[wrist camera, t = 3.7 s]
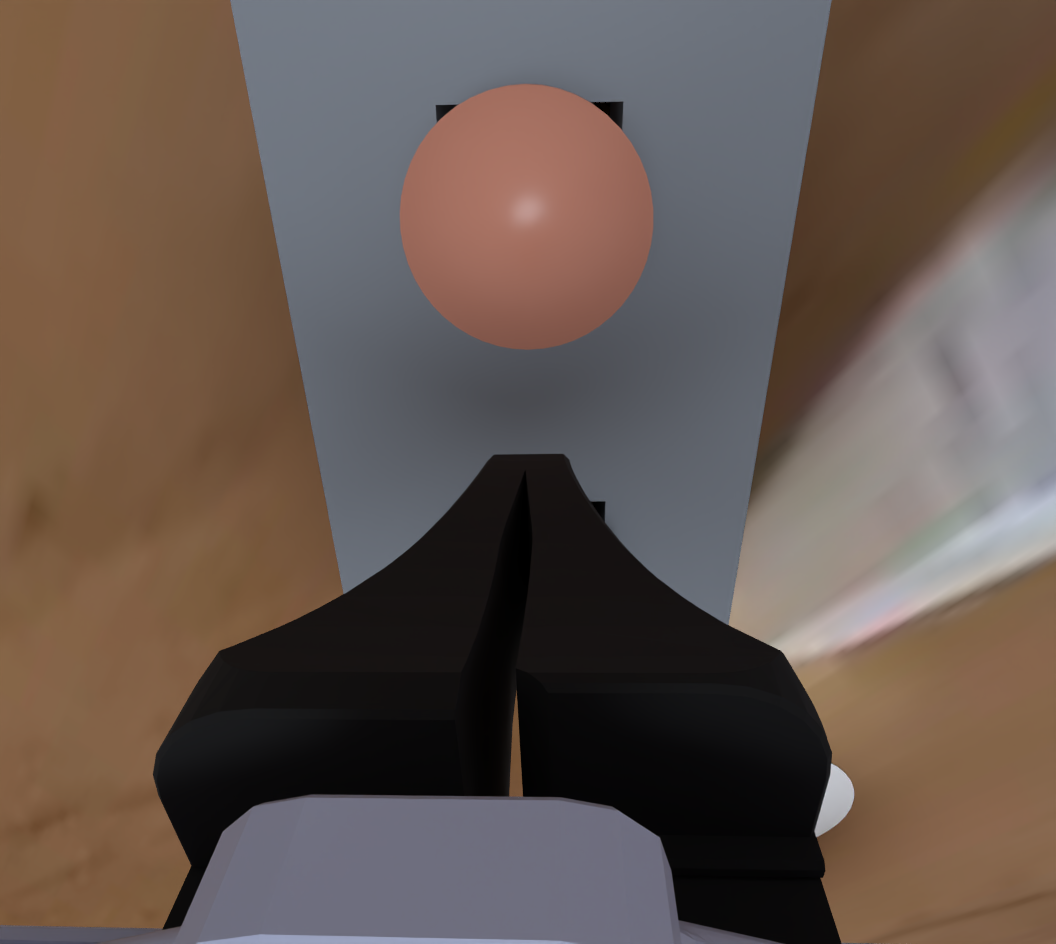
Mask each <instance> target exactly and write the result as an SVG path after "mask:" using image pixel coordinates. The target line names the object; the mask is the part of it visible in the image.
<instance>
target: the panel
mask: <svg viewBox="0 0 1056 944" xmlns="http://www.w3.org/2000/svg"><path fill="white" fill-rule="evenodd" d="M230 1H231V6H232V11H233V17H234V22H235V27H236V32H237V38H238V43H239V48H240V53H241V59H242V64H243V69H244V74H245V80H246V85H247V90H248V95H249V101H250V106H251V111H252V116H253V121H254V127H255V132H256V137H257V142H258V148H259V153H260V158H261V163H262V169H263V174H264V179H265V184H266V190H267V195H268V200H269V205H270V211H271V216H272V221H273V226H274V231H275V237H276V242H277V247H278V252H279V258H280V263H281V268H282V273H283V279H284V284H285V289H286V294H287V300H288V305H289V310H290V315H291V320H292V326H293V331H294V336H295V341H296V347H297V352H298V357H299V362H300V368H301V373H302V378H303V383H304V389H305V394H306V399H307V404H308V410H309V415H310V420H311V425H312V430H313V436H314V441H315V446H316V451H317V457H318V462H319V467H320V472H321V478H322V483H323V488H324V493H325V499H326V504H327V509H328V514H329V520H330V525H331V530H332V535H333V540H334V546H335V551H336V556H337V561H338V567H339V572H340V577H341V582H342V588H343V593H344V594H345V593H347V592H348V591H350V590H351V589H353V588H354V587H356V586H357V585H359V584H360V583H362V582H363V581H365V580H367V579H368V578H370V577H371V576H373V575H374V574H376V573H377V572H379V571H380V570H382V569H383V568H385V567H386V566H388V565H389V564H390V563H392V562H393V561H394V560H395V559H397V558H398V557H399V556H400V555H402V554H403V553H404V552H406V551H407V550H408V549H409V548H410V547H412V546H413V545H414V544H415V543H416V542H417V541H418V540H419V539H420V538H421V537H422V536H423V535H424V534H425V533H426V532H427V531H428V530H429V529H430V528H431V527H432V526H433V525H434V524H435V523H436V522H437V521H438V520H439V519H440V518H441V517H442V516H443V515H444V514H445V513H446V512H447V511H448V510H449V509H450V507H451V506H452V505H453V504H454V503H455V502H456V500H457V499H458V498H459V497H460V496H461V495H462V494H463V492H464V491H465V490H466V489H467V487H468V486H469V485H470V484H471V482H472V481H473V480H474V479H475V477H476V476H477V475H478V473H479V472H480V471H481V469H482V468H483V466H484V465H485V464H486V462H487V461H488V460H489V459H490V458H491V457H492V456H493V455H495V454H564V455H565V456H566V457H567V458H568V459H569V460H570V464H571V467H572V469H573V472H574V474H575V476H576V478H577V480H578V482H579V483H580V485H581V487H582V489H583V491H584V492H585V494H586V496H587V497H588V499H589V500H590V501H596V504H595V509H596V511H597V512H598V513H599V515H600V516H601V518H602V519H603V520H604V522H605V523H606V524H607V526H608V527H609V528H610V529H611V531H612V532H613V533H614V534H615V535H616V537H617V538H618V539H619V540H620V541H621V542H622V544H623V545H624V546H625V547H626V548H627V549H628V550H629V551H630V552H631V553H632V554H633V556H634V557H636V558H637V559H638V560H639V561H640V562H641V563H642V564H643V565H644V566H645V567H646V568H647V569H648V570H649V571H650V572H651V573H652V574H654V575H655V576H656V577H657V578H658V579H660V580H661V581H662V582H664V583H665V584H666V585H668V586H669V587H670V588H672V589H673V590H674V591H675V592H677V593H678V594H679V595H681V596H682V597H684V598H685V599H687V600H688V601H689V602H691V603H692V604H694V605H695V606H697V607H699V608H700V609H702V610H704V611H705V612H707V613H708V614H710V615H712V616H713V617H715V618H717V619H718V620H720V621H722V622H723V623H725V624H727V625H728V624H729V618H730V611H731V605H732V599H733V593H734V587H735V581H736V575H737V569H738V563H739V557H740V551H741V545H742V539H743V533H744V527H745V521H746V515H747V509H748V503H749V496H750V490H751V484H752V478H753V472H754V466H755V460H756V454H757V448H758V442H759V436H760V430H761V424H762V418H763V412H764V406H765V400H766V394H767V387H768V381H769V375H770V369H771V363H772V357H773V351H774V345H775V339H776V333H777V327H778V321H779V315H780V309H781V303H782V297H783V291H784V285H785V279H786V272H787V266H788V260H789V254H790V248H791V242H792V236H793V230H794V224H795V218H796V212H797V206H798V200H799V194H800V188H801V182H802V176H803V170H804V164H805V157H806V151H807V145H808V139H809V133H810V127H811V121H812V115H813V109H814V103H815V97H816V91H817V85H818V79H819V73H820V67H821V61H822V55H823V48H824V42H825V36H826V30H827V24H828V18H829V12H830V6H831V0H230ZM515 84H542V85H547V86H552V87H557V88H560V89H563V90H566V91H569V92H571V93H574V94H576V95H578V96H580V97H582V98H584V99H585V100H587V101H589V102H610V118H611V119H612V120H613V121H614V122H615V123H616V124H617V125H618V126H619V127H620V128H621V130H622V131H623V132H624V134H625V135H626V136H627V138H628V139H629V140H630V142H631V143H632V145H633V147H634V148H635V150H636V152H637V154H638V155H639V157H640V159H641V162H642V164H643V167H644V169H645V172H646V174H647V178H648V182H649V186H650V190H651V195H652V203H653V233H652V241H651V247H650V250H649V254H648V258H647V262H646V264H645V267H644V269H643V272H642V274H641V277H640V278H639V280H638V282H637V284H636V286H635V287H634V289H633V291H632V292H631V294H630V295H629V297H628V298H627V299H626V301H625V302H624V303H623V305H622V306H621V307H620V308H619V309H618V310H617V311H616V312H615V313H614V314H613V315H612V316H611V317H610V318H609V319H608V320H606V321H605V322H604V323H603V324H602V325H600V326H599V327H597V328H596V329H594V330H593V331H591V332H590V333H588V334H586V335H584V336H582V337H580V338H578V339H576V340H574V341H571V342H568V343H565V344H562V345H559V346H554V347H549V348H544V349H531V350H524V349H511V348H506V347H500V346H496V345H493V344H490V343H487V342H483V341H481V340H479V339H477V338H475V337H473V336H470V335H468V334H467V333H465V332H464V331H462V330H460V329H459V328H457V327H456V326H454V325H453V324H452V323H451V322H449V321H448V320H447V319H446V318H444V317H443V316H442V315H441V314H440V313H439V312H438V311H437V310H436V309H435V307H434V306H433V305H432V304H431V303H430V301H429V300H428V299H427V298H426V296H425V295H424V294H423V292H422V290H421V289H420V287H419V285H418V284H417V282H416V280H415V278H414V276H413V274H412V272H411V269H410V267H409V265H408V262H407V258H406V255H405V252H404V248H403V243H402V237H401V231H400V203H401V194H402V189H403V185H404V180H405V177H406V174H407V171H408V168H409V165H410V163H411V160H412V158H413V157H414V155H415V153H416V151H417V149H418V147H419V145H420V144H421V142H422V141H423V139H424V138H425V137H426V135H427V134H428V132H429V131H430V130H431V129H432V128H433V127H434V126H435V124H436V123H437V122H438V121H439V120H440V119H441V118H442V117H443V116H445V115H446V114H447V113H448V112H449V111H451V110H452V109H453V108H454V107H456V106H457V105H459V104H461V103H462V102H464V101H466V100H467V99H469V98H471V97H473V96H476V95H478V94H480V93H483V92H485V91H488V90H491V89H495V88H499V87H503V86H507V85H515Z"/></svg>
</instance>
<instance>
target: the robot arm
mask: <svg viewBox="0 0 1056 944" xmlns="http://www.w3.org/2000/svg"><path fill="white" fill-rule="evenodd" d="M516 690H517V701H518V718H519V734H520V751H521V768H522V785H523V797H509V786H510V764H511V743H512V723H513V714H514V704H515V697H516ZM831 759H832V751H831V749H830V746H829V743H828V740H827V736H826V733H825V731H824V728H823V725H822V722H821V720H820V718H819V716H818V714H817V711H816V709H815V707H814V705H813V703H812V701H811V699H810V698H809V696H808V694H807V692H806V691H805V689H804V687H803V685H802V684H801V682H800V680H799V679H798V677H797V675H796V674H795V672H794V670H793V669H792V667H791V665H790V664H789V662H788V660H787V659H786V657H785V655H784V654H783V653H782V652H781V651H780V650H778V649H776V648H774V647H772V646H770V645H768V644H766V643H763V642H761V641H759V640H757V639H755V638H753V637H751V636H749V635H747V634H745V633H743V632H741V631H739V630H737V629H735V628H733V627H731V626H729V625H727V624H725V623H723V622H722V621H720V620H718V619H717V618H715V617H713V616H712V615H710V614H708V613H707V612H705V611H704V610H702V609H700V608H699V607H697V606H695V605H694V604H692V603H691V602H689V601H688V600H687V599H685V598H684V597H682V596H681V595H679V594H678V593H677V592H675V591H674V590H673V589H672V588H670V587H669V586H668V585H666V584H665V583H664V582H662V581H661V580H660V579H658V578H657V577H656V576H655V575H654V574H652V573H651V572H650V571H649V570H648V569H647V568H646V567H645V566H644V565H643V564H642V563H641V562H640V561H639V560H638V559H637V558H636V557H634V556H633V554H632V553H631V552H630V551H629V550H628V549H627V548H626V547H625V546H624V545H623V544H622V542H621V541H620V540H619V539H618V538H617V537H616V535H615V534H614V533H613V532H612V531H611V529H610V528H609V527H608V526H607V524H606V523H605V522H604V520H603V519H602V518H601V516H600V515H599V513H598V512H597V511H596V509H595V508H594V506H593V505H592V503H591V502H590V500H589V499H588V497H587V496H586V494H585V492H584V491H583V489H582V487H581V485H580V483H579V482H578V480H577V478H576V476H575V474H574V472H573V469H572V467H571V464H570V460H569V459H568V458H567V457H566V456H565V455H564V454H495V455H493V456H492V457H491V458H490V459H489V460H488V461H487V462H486V464H485V465H484V466H483V468H482V469H481V471H480V472H479V473H478V475H477V476H476V477H475V479H474V480H473V481H472V482H471V484H470V485H469V486H468V487H467V489H466V490H465V491H464V492H463V494H462V495H461V496H460V497H459V498H458V499H457V500H456V502H455V503H454V504H453V505H452V506H451V507H450V509H449V510H448V511H447V512H446V513H445V514H444V515H443V516H442V517H441V518H440V519H439V520H438V521H437V522H436V523H435V524H434V525H433V526H432V527H431V528H430V529H429V530H428V531H427V532H426V533H425V534H424V535H423V536H422V537H421V538H420V539H419V540H418V541H417V542H416V543H415V544H414V545H413V546H412V547H410V548H409V549H408V550H407V551H406V552H404V553H403V554H402V555H400V556H399V557H398V558H397V559H395V560H394V561H393V562H392V563H390V564H389V565H388V566H386V567H385V568H383V569H382V570H380V571H379V572H377V573H376V574H374V575H373V576H371V577H370V578H368V579H367V580H365V581H363V582H362V583H360V584H359V585H357V586H356V587H354V588H353V589H351V590H350V591H348V592H347V593H345V594H343V595H341V596H340V597H338V598H336V599H334V600H332V601H331V602H329V603H327V604H325V605H323V606H322V607H320V608H318V609H316V610H314V611H312V612H310V613H308V614H306V615H304V616H302V617H300V618H298V619H296V620H294V621H291V622H289V623H287V624H285V625H283V626H281V627H278V628H276V629H273V630H271V631H268V632H266V633H264V634H261V635H259V636H256V637H254V638H251V639H249V640H246V641H244V642H242V643H239V644H237V645H234V646H232V647H229V648H226V649H223V650H221V651H219V652H218V654H217V655H216V657H215V658H214V660H213V661H212V663H211V664H210V665H209V667H208V668H207V670H206V671H205V672H204V674H203V675H202V677H201V678H200V680H199V681H198V683H197V685H196V686H195V688H194V690H193V691H192V693H191V695H190V696H189V698H188V700H187V702H186V703H185V705H184V707H183V708H182V710H181V712H180V714H179V715H178V717H177V719H176V721H175V722H174V724H173V726H172V728H171V729H170V731H169V733H168V734H167V736H166V738H165V740H164V741H163V743H162V745H161V747H160V748H159V750H158V752H157V754H156V759H155V765H154V771H153V776H154V780H155V784H156V788H157V791H158V795H159V797H160V800H161V802H162V804H163V806H164V808H165V810H166V812H167V814H168V817H169V819H170V821H171V823H172V825H173V827H174V829H175V832H176V834H177V836H178V838H179V840H180V842H181V844H182V846H183V849H184V851H185V853H186V855H187V857H188V859H189V861H190V863H191V865H192V866H191V868H190V870H189V873H188V875H187V877H186V879H185V881H184V884H183V886H182V888H181V890H180V892H179V894H178V897H177V899H176V901H175V903H174V905H173V908H172V910H171V912H170V914H169V916H168V919H167V921H166V923H165V925H164V927H163V929H154V928H106V927H58V926H10V925H0V944H871V943H841V941H840V938H839V934H838V931H837V928H836V925H835V922H834V919H833V916H832V913H831V910H830V907H829V904H828V900H827V897H826V894H825V891H824V888H823V885H822V882H821V879H820V878H823V876H824V873H825V863H824V859H823V856H822V853H821V850H820V847H819V844H818V841H817V838H816V835H815V832H814V831H815V828H816V824H817V821H818V817H819V813H820V810H821V806H822V803H823V799H824V796H825V792H826V788H827V785H828V781H829V778H830V773H831Z"/></svg>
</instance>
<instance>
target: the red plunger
mask: <svg viewBox="0 0 1056 944" xmlns="http://www.w3.org/2000/svg"><path fill="white" fill-rule="evenodd" d="M400 231H401V237H402V243H403V248H404V252H405V255H406V258H407V262H408V265H409V267H410V269H411V272H412V274H413V276H414V278H415V280H416V282H417V284H418V285H419V287H420V289H421V290H422V292H423V294H424V295H425V296H426V298H427V299H428V300H429V301H430V303H431V304H432V305H433V306H434V307H435V309H436V310H437V311H438V312H439V313H440V314H441V315H442V316H443V317H444V318H446V319H447V320H448V321H449V322H451V323H452V324H453V325H454V326H456V327H457V328H459V329H460V330H462V331H464V332H465V333H467V334H468V335H470V336H473V337H475V338H477V339H479V340H481V341H483V342H487V343H490V344H493V345H496V346H500V347H506V348H511V349H524V350H531V349H544V348H549V347H554V346H559V345H562V344H565V343H568V342H571V341H574V340H576V339H578V338H580V337H582V336H584V335H586V334H588V333H590V332H591V331H593V330H594V329H596V328H597V327H599V326H600V325H602V324H603V323H604V322H605V321H606V320H608V319H609V318H610V317H611V316H612V315H613V314H614V313H615V312H616V311H617V310H618V309H619V308H620V307H621V306H622V305H623V303H624V302H625V301H626V299H627V298H628V297H629V295H630V294H631V292H632V291H633V289H634V287H635V286H636V284H637V282H638V280H639V278H640V277H641V274H642V272H643V269H644V267H645V264H646V262H647V258H648V254H649V250H650V247H651V241H652V233H653V203H652V195H651V190H650V186H649V182H648V178H647V174H646V172H645V169H644V167H643V164H642V162H641V159H640V157H639V155H638V154H637V152H636V150H635V148H634V147H633V145H632V143H631V142H630V140H629V139H628V138H627V136H626V135H625V134H624V132H623V131H622V130H621V128H620V127H619V126H618V125H617V124H616V123H615V122H614V121H613V120H612V119H611V118H610V117H609V116H608V115H607V114H605V113H604V112H603V111H601V110H600V109H599V108H597V107H596V106H595V105H593V104H592V103H591V102H589V101H587V100H585V99H584V98H582V97H580V96H578V95H576V94H574V93H571V92H569V91H566V90H563V89H560V88H557V87H552V86H547V85H542V84H515V85H507V86H503V87H499V88H495V89H491V90H488V91H485V92H483V93H480V94H478V95H476V96H473V97H471V98H469V99H467V100H466V101H464V102H462V103H461V104H459V105H457V106H456V107H454V108H453V109H452V110H451V111H449V112H448V113H447V114H446V115H445V116H443V117H442V118H441V119H440V120H439V121H438V122H437V123H436V124H435V126H434V127H433V128H432V129H431V130H430V131H429V132H428V134H427V135H426V137H425V138H424V139H423V141H422V142H421V144H420V145H419V147H418V149H417V151H416V153H415V155H414V157H413V158H412V160H411V163H410V165H409V168H408V171H407V174H406V177H405V180H404V185H403V189H402V194H401V203H400Z"/></svg>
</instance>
